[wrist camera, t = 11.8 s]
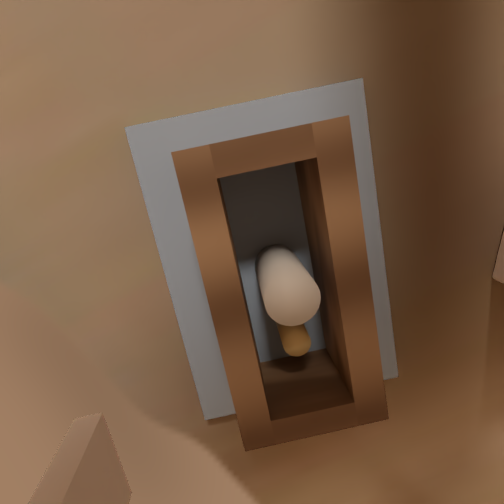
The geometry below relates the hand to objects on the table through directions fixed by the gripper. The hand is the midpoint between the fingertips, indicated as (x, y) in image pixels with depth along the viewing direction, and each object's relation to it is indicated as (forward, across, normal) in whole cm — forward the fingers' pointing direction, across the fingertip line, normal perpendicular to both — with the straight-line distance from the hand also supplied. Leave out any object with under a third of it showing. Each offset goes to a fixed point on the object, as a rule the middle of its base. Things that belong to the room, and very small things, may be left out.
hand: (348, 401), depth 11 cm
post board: (+16, 0, -1) cm, 16 cm away
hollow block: (+15, 0, -1) cm, 15 cm away
